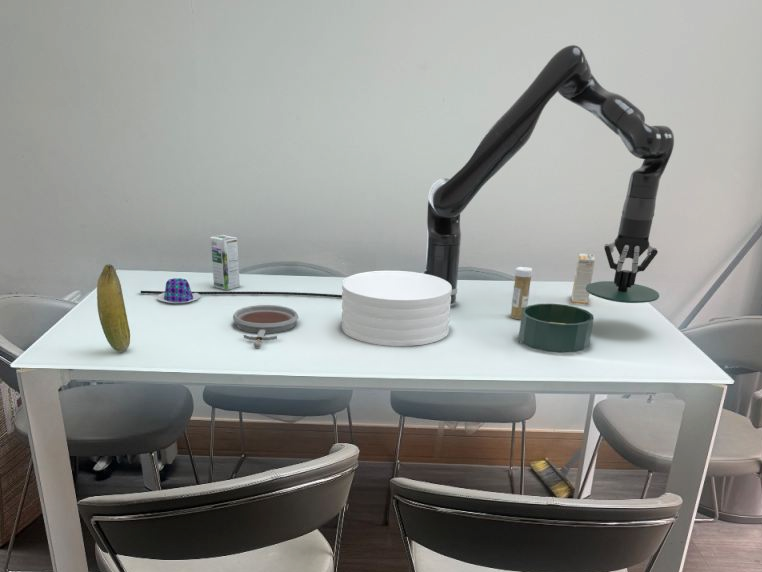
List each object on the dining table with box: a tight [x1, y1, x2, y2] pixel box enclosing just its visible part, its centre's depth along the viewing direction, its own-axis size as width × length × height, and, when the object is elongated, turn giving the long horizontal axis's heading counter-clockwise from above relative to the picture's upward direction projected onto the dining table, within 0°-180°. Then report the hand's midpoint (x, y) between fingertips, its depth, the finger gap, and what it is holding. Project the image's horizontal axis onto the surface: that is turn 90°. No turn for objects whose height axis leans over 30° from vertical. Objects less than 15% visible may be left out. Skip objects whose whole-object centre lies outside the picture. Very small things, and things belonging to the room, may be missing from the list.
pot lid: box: [586, 269, 660, 304], centre depth 197 cm, size 19×19×6 cm
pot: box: [518, 303, 595, 354], centre depth 193 cm, size 18×18×8 cm
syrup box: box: [210, 234, 241, 291], centre depth 225 cm, size 6×6×14 cm
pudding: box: [156, 277, 201, 304], centre depth 215 cm, size 12×12×5 cm
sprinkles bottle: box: [510, 266, 533, 320], centre depth 209 cm, size 5×5×13 cm
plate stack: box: [341, 270, 452, 347], centre depth 197 cm, size 28×28×12 cm
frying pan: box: [232, 304, 299, 349], centre depth 195 cm, size 17×3×28 cm
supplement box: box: [570, 253, 596, 305], centre depth 225 cm, size 8×5×13 cm, turn 168°
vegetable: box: [96, 263, 131, 353], centre depth 174 cm, size 6×6×20 cm
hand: (623, 285), depth 197 cm, fingers closed on pot lid, 2 cm apart
